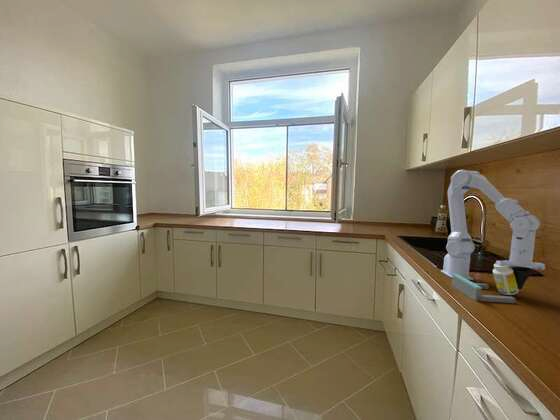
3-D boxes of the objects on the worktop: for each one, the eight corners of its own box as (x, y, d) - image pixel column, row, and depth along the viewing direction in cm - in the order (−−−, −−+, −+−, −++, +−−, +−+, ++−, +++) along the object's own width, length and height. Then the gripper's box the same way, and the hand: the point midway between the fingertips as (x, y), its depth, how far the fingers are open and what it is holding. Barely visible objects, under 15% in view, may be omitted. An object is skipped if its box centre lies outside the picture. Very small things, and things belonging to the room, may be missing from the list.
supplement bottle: (518, 288, 89) (511, 260, 89) (519, 296, 86) (511, 267, 85) (498, 287, 93) (491, 261, 93) (497, 295, 89) (490, 267, 89)
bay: (451, 285, 96) (452, 273, 96) (485, 287, 95) (486, 275, 95) (475, 300, 83) (476, 287, 83) (515, 303, 82) (516, 289, 82)
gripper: (509, 251, 84) (504, 291, 86) (556, 253, 83) (550, 294, 85) (493, 246, 91) (489, 283, 93) (535, 248, 91) (531, 285, 92)
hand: (517, 288), depth 89 cm, fingers closed
